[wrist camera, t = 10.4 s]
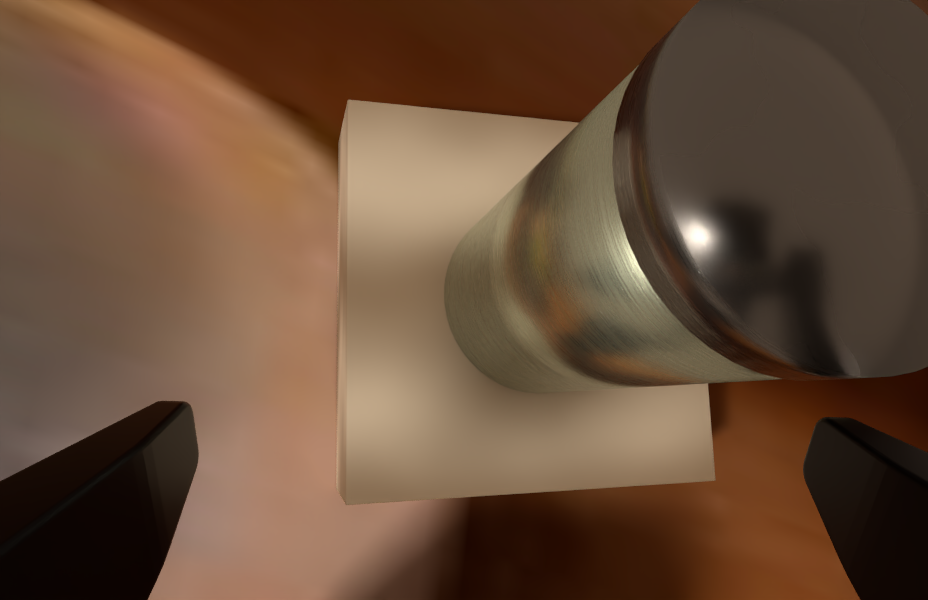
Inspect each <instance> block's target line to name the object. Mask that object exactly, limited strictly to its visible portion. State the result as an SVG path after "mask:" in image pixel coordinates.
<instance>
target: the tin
mask: <svg viewBox="0 0 928 600" xmlns="http://www.w3.org/2000/svg"><path fill="white" fill-rule="evenodd" d="M444 305H445V311H446V317H447V320H448V323H449V327H450V330H451V332H452V334H453V336H454V339H455V341H456V342H457V344H458V346H459V347H460V349H461V351H462V352H463V354H464V355H465V356H466V357H467V359H468V360H469V361H470V362H471V363H472V364H473V365H474V366H475V367H476V368H477V369H478V370H479V371H480V372H481V373H483V374H484V375H485V376H487V377H488V378H489V379H491V380H493V381H495V382H497V383H498V384H500V385H503V386H505V387H508V388H510V389H513V390H517V391H521V392H527V393H554V392H571V391H588V390H605V389H622V388H639V387H656V386H673V385H689V384H706V383H723V382H740V381H757V380H774V379H790V380H798V381H808V380H831V379H850V378H869V377H888V376H896V375H901V374H906V373H911V372H916V371H918V370H921V369H923V368H926V367H928V16H927V15H926V14H925V13H924V12H923V11H922V10H921V9H920V8H919V7H918V6H916V5H915V4H914V3H912V2H911V1H910V0H700V1H699V2H698V3H697V4H696V5H695V6H694V7H693V8H692V9H691V10H690V11H689V12H688V13H687V14H686V15H685V16H684V17H683V18H682V19H681V20H680V21H679V22H678V23H677V24H676V25H675V26H674V27H673V28H672V29H671V30H670V31H669V32H668V33H667V34H666V35H665V36H664V37H663V38H662V39H661V40H660V41H659V42H658V43H657V44H656V45H655V46H654V47H653V48H652V49H651V50H650V51H649V52H648V53H647V54H646V56H645V57H644V59H643V60H642V61H641V63H640V64H639V65H638V66H637V67H636V68H635V69H634V70H633V71H632V72H631V73H630V74H629V75H628V76H627V77H626V78H625V79H624V80H623V81H622V82H621V83H620V84H619V85H618V86H617V87H616V88H615V89H614V90H613V91H612V92H611V93H610V94H609V95H608V96H607V97H606V98H605V99H604V100H603V101H602V102H600V103H599V104H598V105H597V106H596V107H595V108H594V109H593V110H592V111H591V112H590V113H589V114H588V115H587V116H586V117H585V118H584V119H583V120H582V121H581V122H580V123H579V124H578V125H577V126H576V127H575V128H574V129H573V130H572V131H571V132H570V133H569V134H568V135H567V136H566V137H565V138H564V139H563V140H561V141H560V142H559V143H558V144H557V145H556V146H555V147H554V148H553V149H552V150H551V151H550V152H549V153H548V154H547V155H546V156H545V157H544V158H543V159H542V160H541V161H540V162H539V163H538V164H537V165H536V166H535V167H534V168H533V169H532V170H531V171H530V172H529V173H528V174H527V175H526V176H525V177H524V178H522V179H521V180H520V181H519V182H518V183H517V184H516V185H515V186H514V187H513V188H512V189H511V190H510V191H509V192H508V193H507V194H506V195H505V196H504V197H503V198H502V199H501V200H500V201H499V202H498V203H497V204H496V205H495V206H494V207H493V208H492V209H491V210H490V211H489V212H488V213H487V214H486V215H485V216H484V217H482V218H481V219H480V220H479V221H478V222H477V223H476V224H475V225H474V226H473V227H472V228H471V229H470V230H469V231H468V232H467V233H466V234H465V236H464V237H463V238H462V240H461V241H460V242H459V244H458V245H457V247H456V249H455V251H454V253H453V254H452V257H451V260H450V262H449V265H448V268H447V272H446V277H445V285H444Z"/></svg>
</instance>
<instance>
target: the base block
mask: <svg viewBox="0 0 928 600" xmlns="http://www.w3.org/2000/svg"><path fill="white" fill-rule="evenodd" d="M578 124H579V123H576V122H566V121H556V120H546V119H536V118H526V117H516V116H506V115H496V114H486V113H476V112H466V111H456V110H446V109H436V108H426V107H416V106H406V105H396V104H386V103H376V102H366V101H356V100H348V102H347V106H346V111H345V116H344V120H343V125H342V129H341V134H340V138H339V143H338V297H337V453H336V489H337V491H338V492H339V494H340V496H341V497H342V499H343V501H344V502H345V504H346V505H355V504H370V503H385V502H400V501H415V500H430V499H445V498H460V497H475V496H491V495H506V494H521V493H536V492H551V491H566V490H581V489H596V488H611V487H626V486H642V485H657V484H672V483H687V482H702V481H715V469H714V456H713V443H712V430H711V417H710V405H709V392H708V383H706V384H689V385H673V386H656V387H639V388H622V389H605V390H588V391H571V392H554V393H527V392H521V391H517V390H513V389H510V388H508V387H505V386H503V385H500V384H498V383H497V382H495V381H493V380H491V379H489V378H488V377H487V376H485V375H484V374H483V373H481V372H480V371H479V370H478V369H477V368H476V367H475V366H474V365H473V364H472V363H471V362H470V361H469V360H468V359H467V357H466V356H465V355H464V354H463V352H462V351H461V349H460V347H459V346H458V344H457V342H456V341H455V339H454V336H453V334H452V332H451V330H450V327H449V323H448V320H447V317H446V311H445V305H444V285H445V277H446V272H447V268H448V265H449V262H450V260H451V257H452V254H453V253H454V251H455V249H456V247H457V245H458V244H459V242H460V241H461V240H462V238H463V237H464V236H465V234H466V233H467V232H468V231H469V230H470V229H471V228H472V227H473V226H474V225H475V224H476V223H477V222H478V221H479V220H480V219H481V218H482V217H484V216H485V215H486V214H487V213H488V212H489V211H490V210H491V209H492V208H493V207H494V206H495V205H496V204H497V203H498V202H499V201H500V200H501V199H502V198H503V197H504V196H505V195H506V194H507V193H508V192H509V191H510V190H511V189H512V188H513V187H514V186H515V185H516V184H517V183H518V182H519V181H520V180H521V179H522V178H524V177H525V176H526V175H527V174H528V173H529V172H530V171H531V170H532V169H533V168H534V167H535V166H536V165H537V164H538V163H539V162H540V161H541V160H542V159H543V158H544V157H545V156H546V155H547V154H548V153H549V152H550V151H551V150H552V149H553V148H554V147H555V146H556V145H557V144H558V143H559V142H560V141H561V140H563V139H564V138H565V137H566V136H567V135H568V134H569V133H570V132H571V131H572V130H573V129H574V128H575V127H576V126H577V125H578Z"/></svg>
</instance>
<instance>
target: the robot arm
mask: <svg viewBox="0 0 928 600" xmlns="http://www.w3.org/2000/svg"><path fill="white" fill-rule="evenodd" d="M198 455H199V452H198V444H197V437H196V430H195V423H194V416H193V411H192V408H191V406H190V405H189V404H188V403H187V402H183V401H158V402H156V403H154V404H152V405H150V406H148V407H146V408H144V409H142V410H140V411H138V412H136V413H134V414H132V415H130V416H128V417H126V418H124V419H122V420H120V421H118V422H116V423H114V424H112V425H110V426H108V427H106V428H104V429H102V430H100V431H98V432H96V433H94V434H93V435H91V436H89V437H87V438H85V439H83V440H81V441H79V442H77V443H75V444H73V445H71V446H69V447H67V448H65V449H63V450H61V451H59V452H57V453H55V454H53V455H51V456H49V457H47V458H45V459H43V460H41V461H39V462H37V463H35V464H33V465H31V466H29V467H27V468H25V469H24V470H22V471H20V472H18V473H16V474H14V475H12V476H10V477H8V478H6V479H4V480H2V481H0V600H148V598H149V596H150V593H151V591H152V589H153V587H154V585H155V583H156V581H157V578H158V576H159V574H160V572H161V569H162V567H163V565H164V562H165V559H166V557H167V554H168V551H169V548H170V546H171V543H172V540H173V537H174V534H175V531H176V528H177V525H178V522H179V519H180V516H181V513H182V510H183V507H184V504H185V501H186V498H187V495H188V492H189V489H190V486H191V483H192V480H193V477H194V474H195V471H196V468H197V464H198ZM803 473H804V478H805V481H806V484H807V486H808V488H809V491H810V493H811V495H812V498H813V500H814V502H815V504H816V507H817V509H818V511H819V513H820V516H821V518H822V520H823V523H824V525H825V527H826V529H827V532H828V534H829V536H830V539H831V541H832V543H833V545H834V548H835V550H836V552H837V554H838V557H839V559H840V561H841V563H842V565H843V567H844V569H845V572H846V574H847V576H848V578H849V579H850V581H851V583H852V585H853V587H854V589H855V591H856V593H857V594H858V596H859V598H860V600H928V453H927V452H925V451H923V450H920V449H918V448H916V447H914V446H912V445H909V444H907V443H905V442H903V441H901V440H898V439H896V438H894V437H892V436H890V435H887V434H885V433H883V432H881V431H879V430H876V429H874V428H872V427H870V426H868V425H865V424H863V423H861V422H859V421H857V420H854V419H852V418H840V417H825V418H822V419H820V420H819V421H818V422H817V423H816V426H815V428H814V431H813V435H812V438H811V441H810V444H809V447H808V451H807V454H806V457H805V460H804V466H803Z"/></svg>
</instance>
